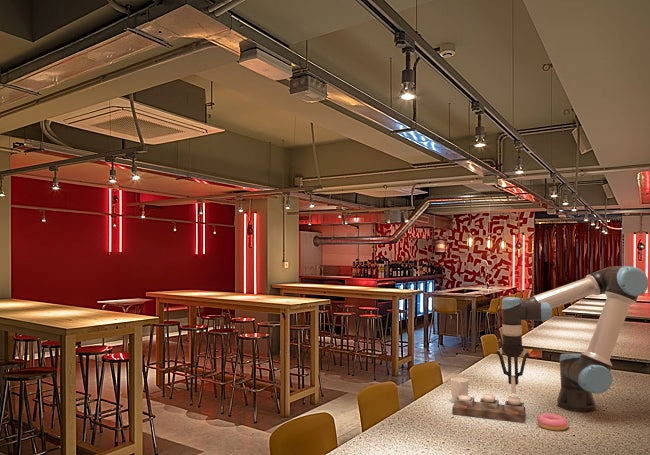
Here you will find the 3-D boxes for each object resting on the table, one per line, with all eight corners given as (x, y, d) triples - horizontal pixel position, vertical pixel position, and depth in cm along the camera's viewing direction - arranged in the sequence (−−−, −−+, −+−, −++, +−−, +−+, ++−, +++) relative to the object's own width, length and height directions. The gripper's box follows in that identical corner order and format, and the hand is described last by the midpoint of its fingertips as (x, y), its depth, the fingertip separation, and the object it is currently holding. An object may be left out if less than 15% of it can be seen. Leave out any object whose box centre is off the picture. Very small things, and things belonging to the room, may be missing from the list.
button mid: (495, 399, 206) (495, 394, 206) (494, 402, 201) (494, 397, 201) (483, 398, 208) (483, 393, 208) (482, 401, 203) (481, 396, 203)
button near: (521, 402, 202) (520, 397, 202) (520, 405, 197) (520, 400, 197) (508, 400, 204) (508, 396, 204) (507, 404, 199) (507, 399, 199)
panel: (525, 414, 202) (525, 402, 203) (524, 423, 192) (524, 410, 192) (457, 406, 214) (456, 394, 214) (452, 414, 203) (452, 402, 203)
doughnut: (566, 434, 180) (566, 422, 180) (534, 428, 186) (534, 417, 186) (569, 425, 189) (569, 414, 190) (539, 420, 195) (538, 410, 195)
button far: (471, 400, 210) (471, 395, 210) (469, 403, 205) (469, 398, 205) (459, 399, 212) (459, 394, 212) (457, 402, 207) (457, 397, 207)
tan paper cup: (469, 404, 217) (469, 381, 217) (451, 403, 218) (450, 381, 219) (468, 399, 224) (467, 377, 225) (450, 398, 226) (449, 377, 226)
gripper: (529, 334, 203) (530, 391, 201) (496, 332, 208) (497, 388, 207) (528, 336, 196) (530, 396, 195) (494, 334, 202) (496, 392, 200)
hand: (513, 392), depth 201 cm, fingers closed
